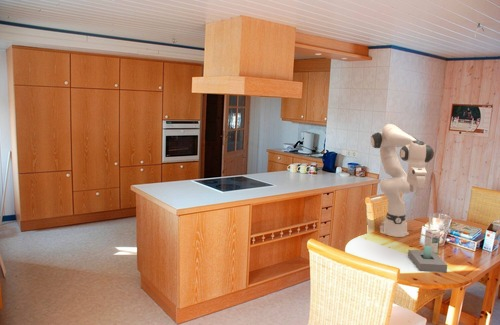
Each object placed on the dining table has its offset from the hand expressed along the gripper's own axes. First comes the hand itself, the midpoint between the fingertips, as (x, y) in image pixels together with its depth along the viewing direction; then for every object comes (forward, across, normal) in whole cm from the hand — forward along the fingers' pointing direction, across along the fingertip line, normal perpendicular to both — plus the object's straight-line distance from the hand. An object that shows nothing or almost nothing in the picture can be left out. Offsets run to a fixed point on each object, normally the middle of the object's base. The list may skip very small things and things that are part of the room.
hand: (414, 193), depth 224 cm
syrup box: (+37, -4, +14) cm, 40 cm away
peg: (+37, +12, +6) cm, 39 cm away
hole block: (+37, +12, +6) cm, 39 cm away
